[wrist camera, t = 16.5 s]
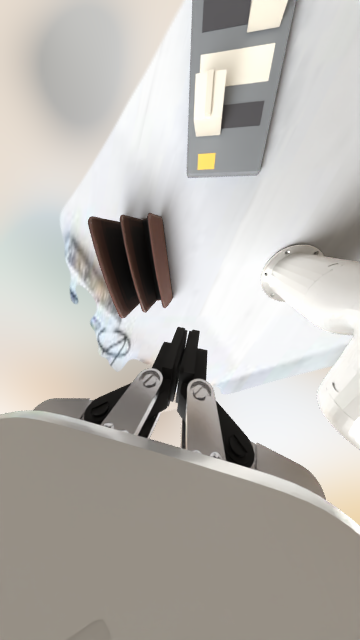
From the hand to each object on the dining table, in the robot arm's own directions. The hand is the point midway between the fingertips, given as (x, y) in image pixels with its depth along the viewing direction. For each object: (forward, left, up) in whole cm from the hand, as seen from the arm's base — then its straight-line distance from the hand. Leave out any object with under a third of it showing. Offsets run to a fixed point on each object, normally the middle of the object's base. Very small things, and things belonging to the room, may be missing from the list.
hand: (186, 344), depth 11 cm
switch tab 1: (+1, -24, -28) cm, 37 cm away
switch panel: (-2, -29, -30) cm, 42 cm away
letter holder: (+14, -1, -31) cm, 34 cm away
